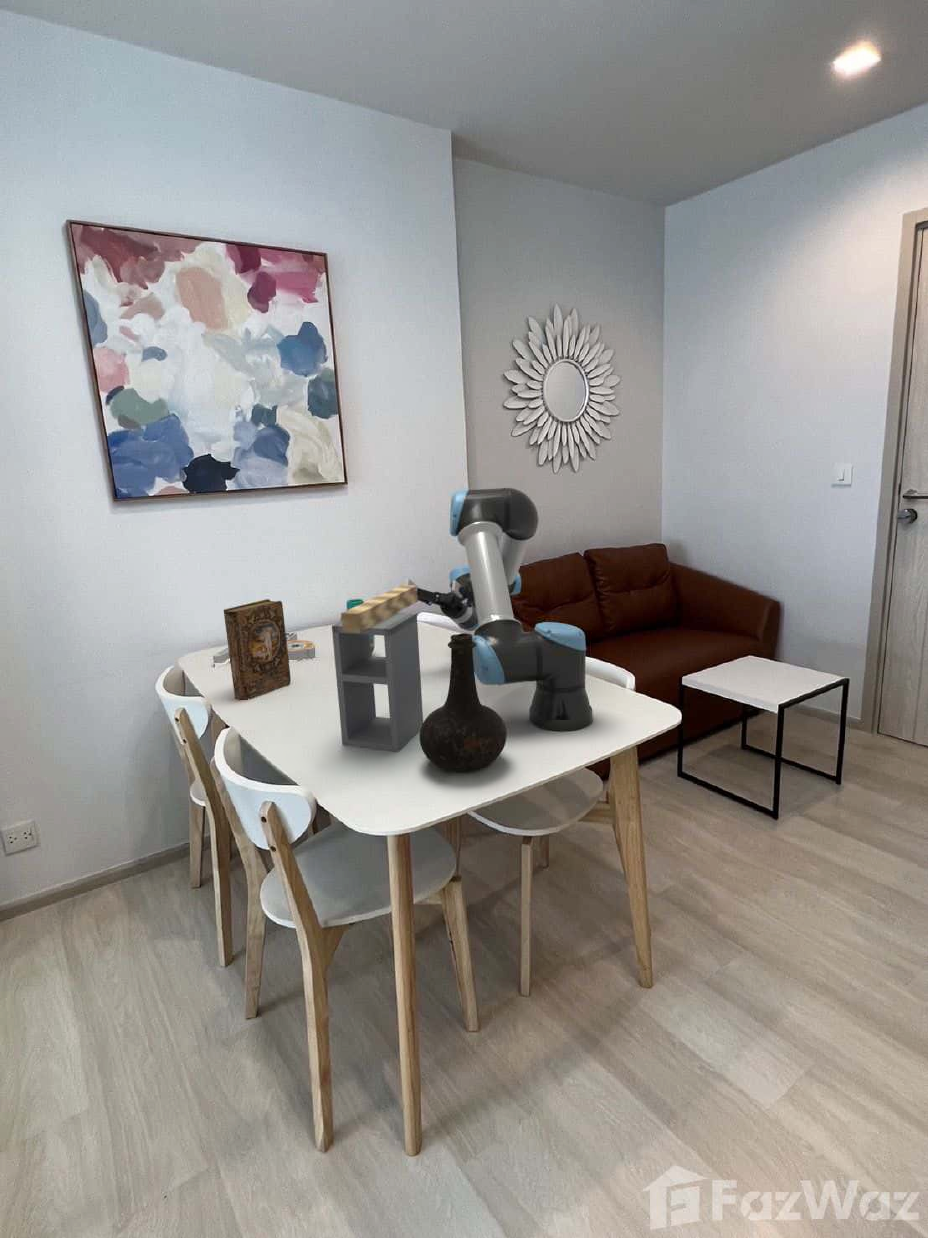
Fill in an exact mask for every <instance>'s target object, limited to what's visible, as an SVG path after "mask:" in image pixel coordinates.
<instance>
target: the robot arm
mask: <svg viewBox="0 0 928 1238" xmlns="http://www.w3.org/2000/svg"><path fill="white" fill-rule="evenodd" d="M449 510H450V511H449V533H450V536H453V537H457V541H458V543H459V544H460V545H461V546H462V547H463V548H465V553H466V558H467V563H468V564H467V565H468V566H456V567H454V568H453V569H451V570H450V572H449V574H448V575H449V587H450V591H449V592H448V593H445V592H443V593H442V592H439V591H434V592H433V591H430V590H427V589H423V588H420V587H419V585H417V584H416V583H415V582H413V581H412V580H411V579H410V578H406V579H405V584H404V585H413V586H417V595H418V602H421V603H424V604H426V605H427V606H430V607H431V606H432V604H434V605H435V606H439V608H440V610H441V612H442V614H444V616H446V617H448V619H450V620H451V621H453V622H454V623H455V624H456V625H457V626H458V627H459V628H460V629H461V630H465V631H467V632H473V635H472V636H473V638H472V641H473V642H475V643H476V644H477V646H476V647H474V648H473V661H474V673H475V677H476V678H477V680H478V681H479V682H480V683H481V684H482V685H485V686H494V685H496V686H502V685H510V684H519V683H529V682H535V690H534V694H533V697H532V701H531V705H530V707H529V710H528V711H529V713H528V714H529V717H528V718H529V721H530V723H531V724H533V725H534V726H536V727H538V728H541V729H546V730H549V731H558V730H559V732H560V731H561V732H562V731H563V730H566V732H567V730H568V731H575V730H576V731H577V730H579V729H582V728H585V726H586V727H588V726H589V725H591V724H592V722H593V717H594V716H593V709H592V706H591V704H590V699H589V696H588V693H587V690H586V654H587V653H586V650H587V646H586V634H585V632H584V631H583V630H582V629H581V628H579V627H577V626H574V625H572V624H568V623H561V622H550V621H548V622H547V621H545V622H544V621H543V622H541V623H540V622H539V623H536V624H535V627H534V631H524V628H523V625H522V622H521V621H520V620H518V619H515V615H514V612H513V607H512V601H511V598H510V597H511V595H513V596H514V595H519V594H520V592H521V589H522V578H521V573H519V570H520V567H521V565H522V562H523V559H524V557H525V556H524V555H525V553H526V551H527V548H528V544H529V541H530V539H532V538H533V537H534V536H535V534H536V532H537V529H538V528H539V527H538V526H539V514H538V513H539V512H538V509H537V506H536V505H535V504H534V502H533V500H532V499H531V497H530V496H528V495H527V494H526V493H525V492H523V491H521V490H519V489H516V488H513V487H502V488H499V487H498V488H484V489H483V488H482V489H470V488H468V489H464V490H456V491H454V492H453V494H452V496H451V499H450V509H449ZM500 539H501V540H500ZM499 542H500V543H499ZM587 725H588V726H587ZM563 732H564V731H563Z"/></svg>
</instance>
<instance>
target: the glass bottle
mask: <svg viewBox="0 0 928 1238" xmlns="http://www.w3.org/2000/svg"><path fill="white" fill-rule="evenodd" d="M473 636H474V635H472V634H471V633H465V632H464V633H463V632H462V633H459V634H456V633H455V634H452V635H450V641H449V642H448V643H447V647H448V648H449V649H450V650H451V651H450V672H449V673H450V674H449V675H450V676H449V686H448V691H447V695H446V700H445V702H444V704H443V705H442V706H441V707H438V708H435V710H433V711H432V712H430V713H429V714H428V715H427V716H426V717H425V719H424V720H423V724H422V727H421V730H420V731H419V743H420V748H421V751H422V752H423V754H424V755H425V757H426V759H428V761H429V762H430V763H432V764H433V765H434V766H436V767H438V768H439V769H441V770H443V771H447V772H451V773H457V774H459V773H461V774H468V773H475V772H479V771H482V770H484V769H486V768H488V767H489V766H490V765H492V764H493V763H494V762H495V761H496V760H497V759H498V757H499V756H500V755H501V753H502V752H503V750H504V748H505V746H506V742H507V735H508V734H507V733H508V732H507V726H506V724H505V722H504V721H503V719H502V717H501V716H500V715H499V714H498V713H497V712H496V711H495V710H494V709H492V708H491V707H489V706H487V705H484V704H482V703H481V701H480V698H479V694H478V689H477V685H476V684H477V683H476V674H475V672H474V661H473V648H474V647H476V646H477V644H476V643H475V642H473V641H472V638H473Z"/></svg>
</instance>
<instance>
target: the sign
mask: <svg viewBox="0 0 928 1238" xmlns="http://www.w3.org/2000/svg"><path fill="white" fill-rule="evenodd" d="M285 632H286V641H287V649H288V658H289V660H303V659H308V658H309V659H312V658H315V659H316V656H315V654H316V646H315V645H316V644H315V643H314V641H312V640H308V639H305V640H304V639H298V634H297V633H298V632H287V631H285ZM229 658H230V656H229V648H228V646H227V647H226V648H223V649H221V650H220V651H218V652H216V653H215V654H213V655H212V659H213V664H214V663H223V662H225V661H226V660H227V659H229ZM309 659H308V660H309ZM312 660H313V659H312ZM303 661H304V660H303Z"/></svg>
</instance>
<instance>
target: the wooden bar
mask: <svg viewBox="0 0 928 1238" xmlns="http://www.w3.org/2000/svg"><path fill="white" fill-rule="evenodd" d="M417 586H418V585H417ZM417 586H413V585H405V584H402V585H400V586H398V587H395V588H392V589H391V590H389V591H387V592H385V593H382V594H380V595H378V596H376V597H374V598H371V599H369V600H367V601H364V603H362V604H360V605H358V606H356V607H353V608H351V609H349V610H347V609H346V610H347V611H342V612H341V614H340V619H341V618H342V629H343V632H355V633H360V632H362V631H364V630H366V629H368V628H370V627H371V626H373V625H375V624H377V623H379V622H381V621H383V620H384V619H386V618H388V617H390V616H392V615H394V614H395V613H400V612H402V611H403V610H405V609H406V608H409V607H411V606H412V605H414V604H416V603H417V602H419V601H418V595H417Z"/></svg>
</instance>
